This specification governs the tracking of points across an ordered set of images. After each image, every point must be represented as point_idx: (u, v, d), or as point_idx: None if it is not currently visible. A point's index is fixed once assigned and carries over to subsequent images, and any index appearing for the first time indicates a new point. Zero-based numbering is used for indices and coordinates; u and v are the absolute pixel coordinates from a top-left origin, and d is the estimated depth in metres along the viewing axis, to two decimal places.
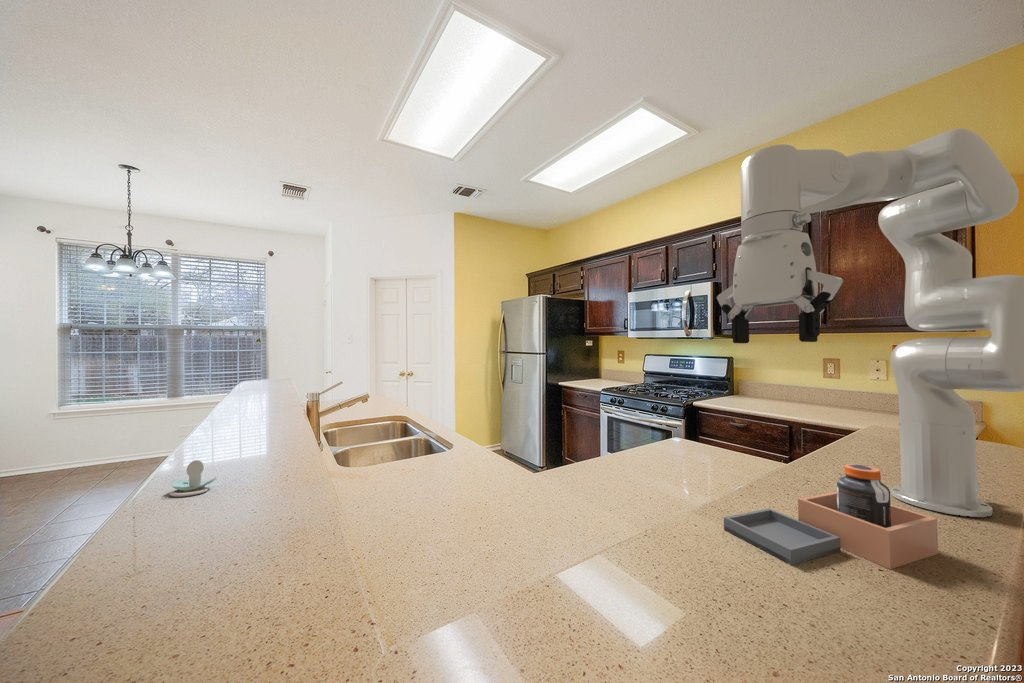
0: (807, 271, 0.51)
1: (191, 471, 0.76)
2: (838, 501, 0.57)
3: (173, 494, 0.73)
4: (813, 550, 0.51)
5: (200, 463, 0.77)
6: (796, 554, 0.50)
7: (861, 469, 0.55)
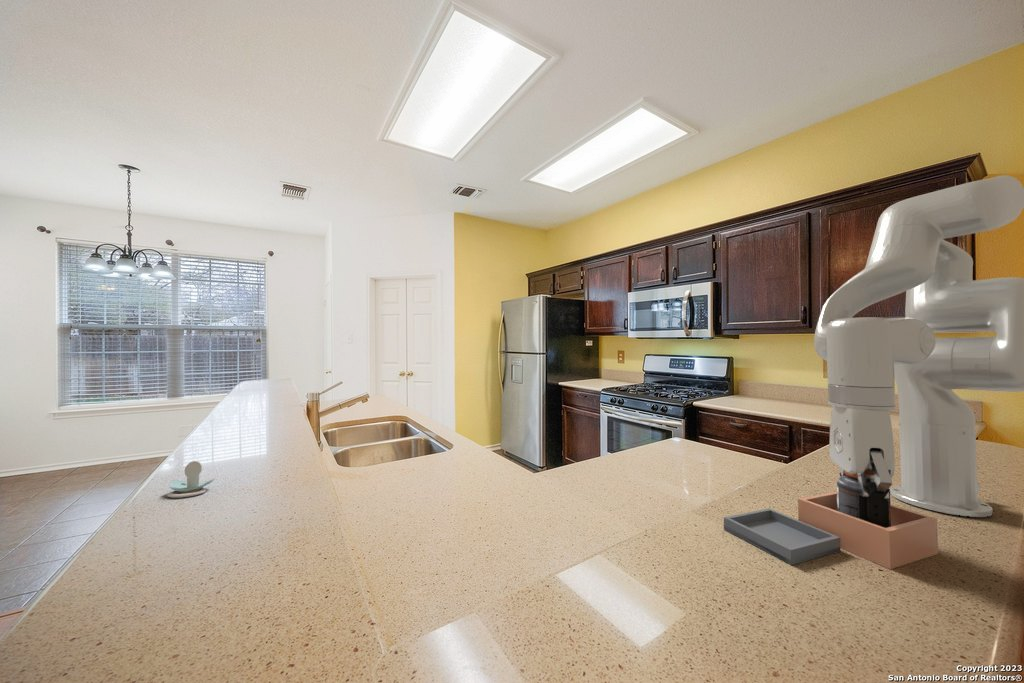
0: None
1: (189, 472, 0.75)
2: (838, 501, 0.57)
3: (171, 495, 0.72)
4: (813, 550, 0.51)
5: (198, 464, 0.76)
6: (796, 554, 0.50)
7: None
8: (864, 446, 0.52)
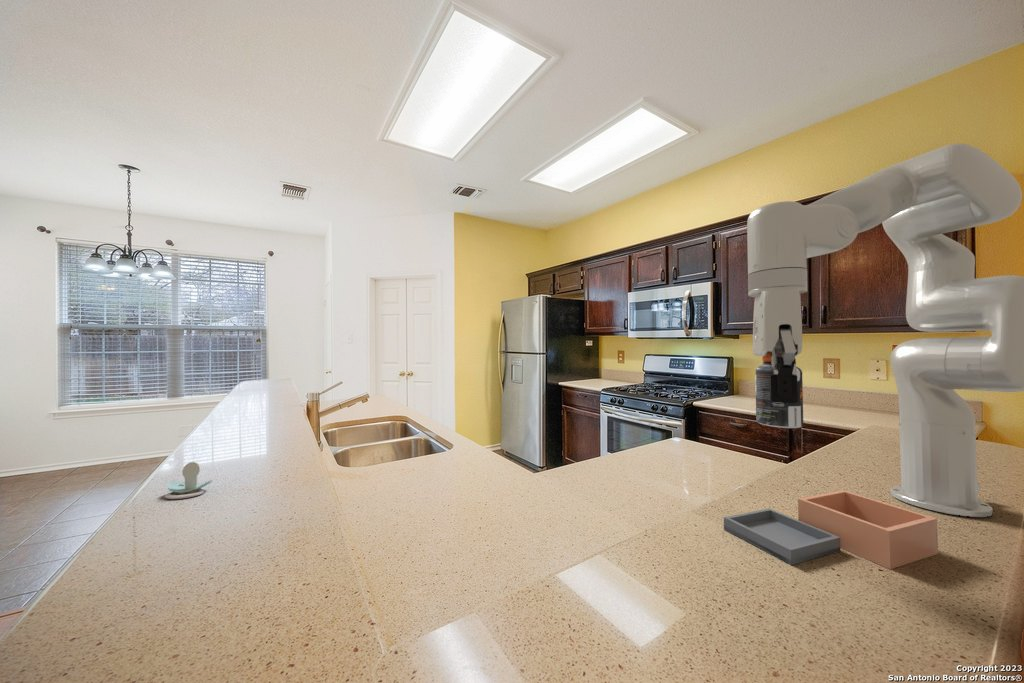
0: None
1: (187, 473, 0.75)
2: (756, 388, 0.58)
3: (168, 496, 0.71)
4: (813, 550, 0.51)
5: (196, 465, 0.75)
6: (796, 554, 0.50)
7: None
8: (774, 324, 0.53)
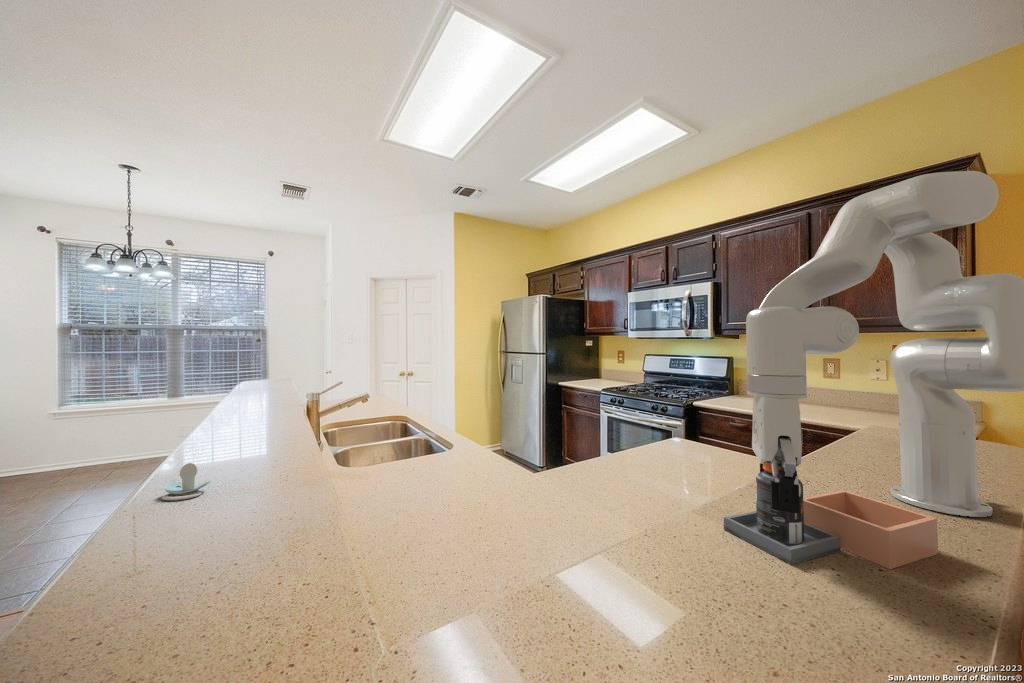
0: None
1: (184, 474, 0.74)
2: (756, 496, 0.57)
3: (165, 498, 0.71)
4: (813, 550, 0.51)
5: (194, 466, 0.75)
6: (796, 554, 0.50)
7: None
8: (773, 434, 0.53)
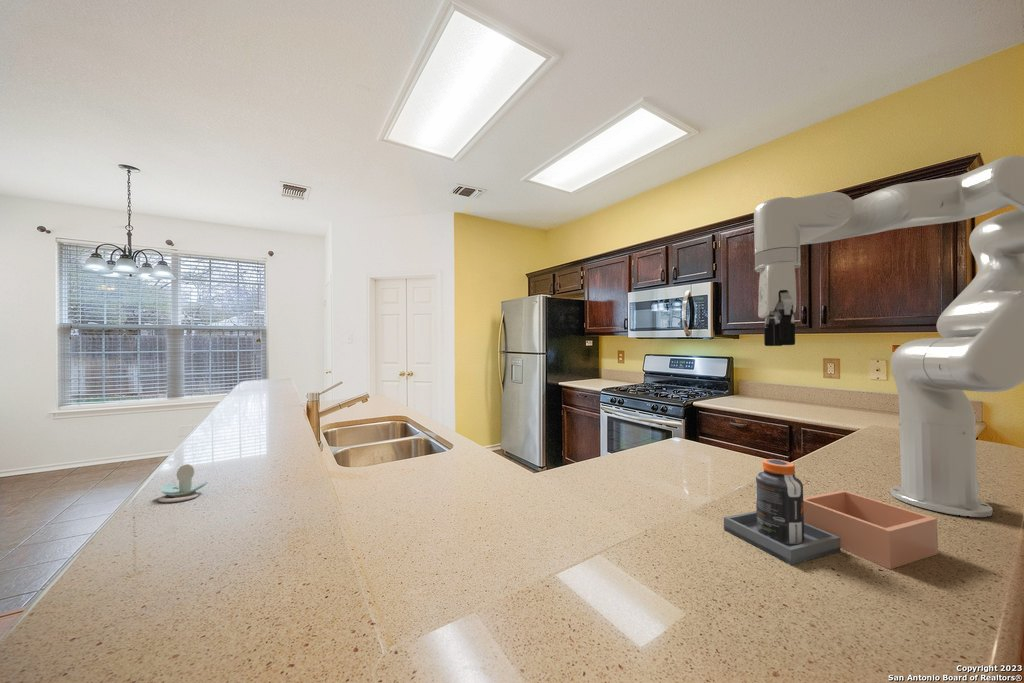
0: None
1: (181, 475, 0.73)
2: (756, 496, 0.57)
3: (162, 500, 0.70)
4: (813, 550, 0.51)
5: (191, 467, 0.74)
6: (796, 554, 0.50)
7: (776, 464, 0.55)
8: (775, 290, 0.70)
